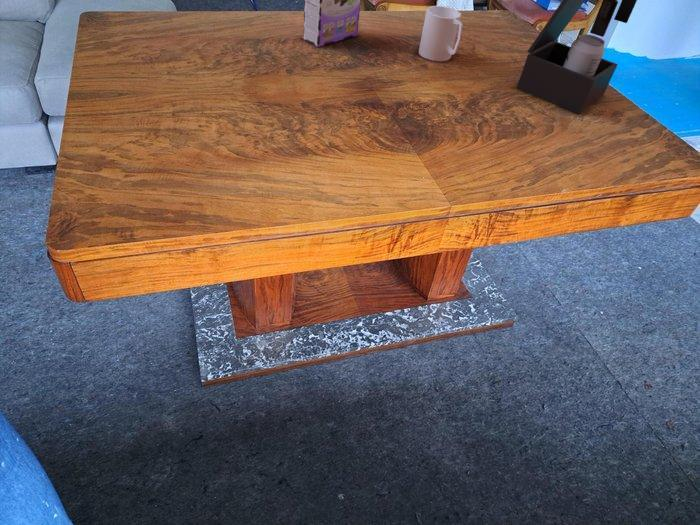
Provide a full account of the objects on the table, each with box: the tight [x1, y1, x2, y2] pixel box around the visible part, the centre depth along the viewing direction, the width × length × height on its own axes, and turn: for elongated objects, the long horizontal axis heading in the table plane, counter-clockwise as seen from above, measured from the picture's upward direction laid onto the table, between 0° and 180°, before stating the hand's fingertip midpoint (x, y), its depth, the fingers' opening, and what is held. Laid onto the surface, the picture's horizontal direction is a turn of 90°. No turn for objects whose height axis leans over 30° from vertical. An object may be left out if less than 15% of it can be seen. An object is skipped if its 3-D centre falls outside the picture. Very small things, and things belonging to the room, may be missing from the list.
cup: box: [418, 5, 464, 62], centre depth 123 cm, size 8×12×10 cm
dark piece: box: [516, 40, 619, 115], centre depth 116 cm, size 16×14×8 cm
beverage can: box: [563, 33, 606, 78], centre depth 113 cm, size 7×7×12 cm
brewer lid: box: [527, 0, 586, 54], centre depth 110 cm, size 16×14×9 cm
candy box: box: [302, 0, 362, 48], centre depth 123 cm, size 14×6×16 cm, turn 134°
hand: (609, 27), depth 107 cm, fingers open, 13 cm apart
